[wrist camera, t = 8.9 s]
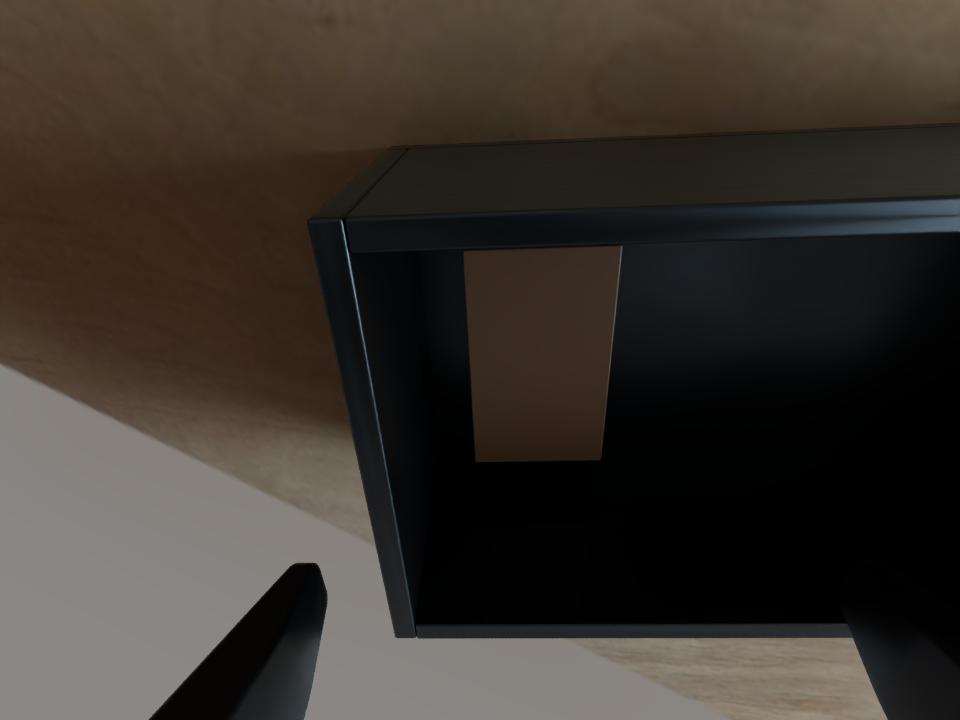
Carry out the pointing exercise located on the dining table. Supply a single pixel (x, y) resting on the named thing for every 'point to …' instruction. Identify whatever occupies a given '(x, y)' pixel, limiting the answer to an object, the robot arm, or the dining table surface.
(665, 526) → the trash bin
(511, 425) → the brown block
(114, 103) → the dining table surface
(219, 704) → the robot arm
